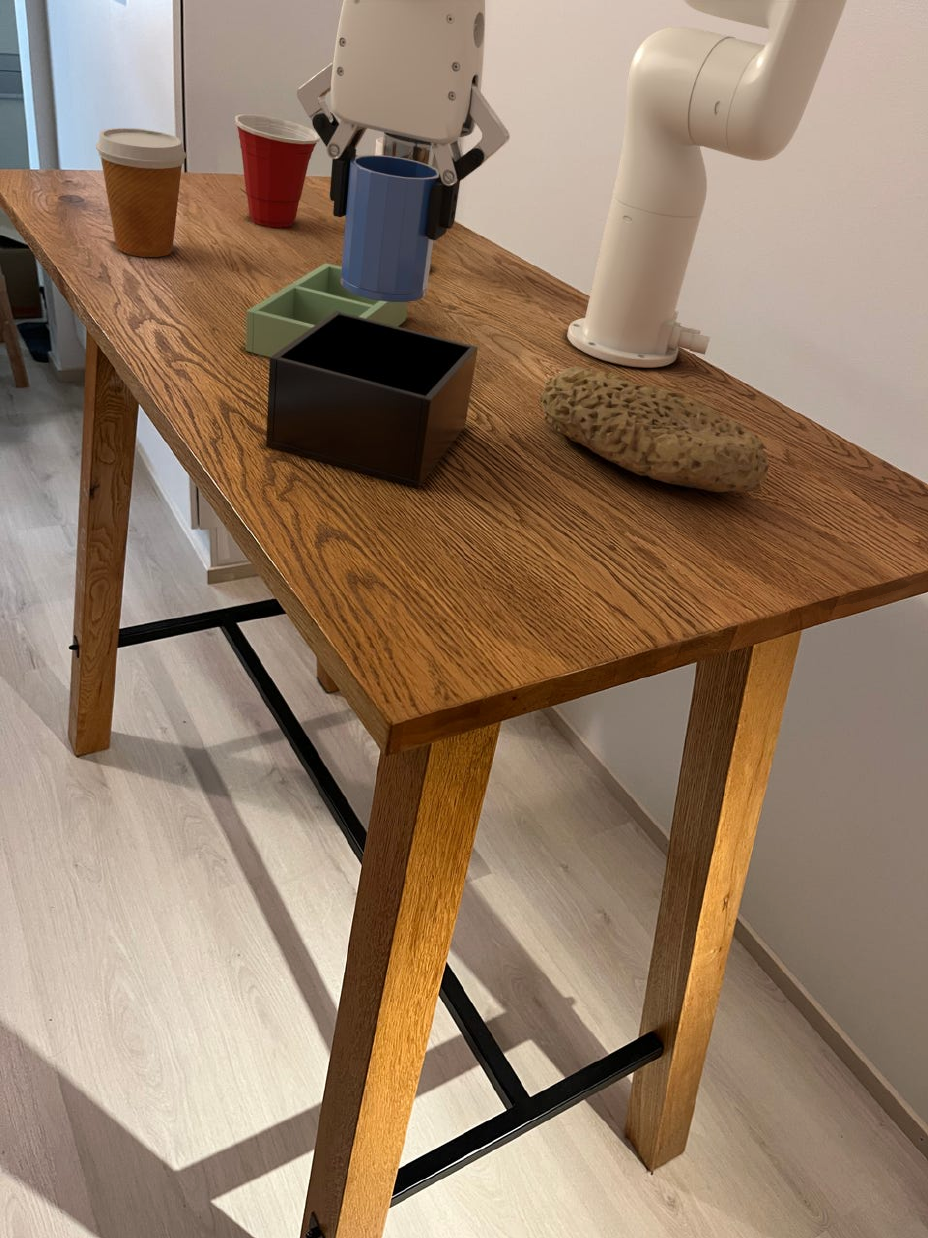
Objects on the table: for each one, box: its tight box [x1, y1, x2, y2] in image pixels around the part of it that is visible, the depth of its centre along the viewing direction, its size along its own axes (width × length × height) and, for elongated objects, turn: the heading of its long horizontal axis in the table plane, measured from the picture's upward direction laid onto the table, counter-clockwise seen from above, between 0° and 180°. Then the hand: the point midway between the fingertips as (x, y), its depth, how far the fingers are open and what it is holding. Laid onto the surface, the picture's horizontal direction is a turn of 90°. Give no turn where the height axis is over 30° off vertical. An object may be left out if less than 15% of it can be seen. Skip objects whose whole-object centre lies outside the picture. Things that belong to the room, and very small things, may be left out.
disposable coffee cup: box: [95, 127, 187, 258], centre depth 115 cm, size 10×10×12 cm
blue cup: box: [340, 154, 440, 303], centre depth 78 cm, size 7×7×9 cm
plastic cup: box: [234, 113, 321, 228], centre depth 131 cm, size 11×11×12 cm
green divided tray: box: [245, 262, 409, 358], centre depth 104 cm, size 10×19×4 cm, turn 163°
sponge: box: [540, 365, 771, 493], centre depth 89 cm, size 13×8×20 cm
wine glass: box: [382, 132, 438, 273], centre depth 124 cm, size 8×8×15 cm
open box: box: [265, 311, 479, 489], centre depth 85 cm, size 13×13×8 cm
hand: (390, 222), depth 78 cm, fingers closed on blue cup, 6 cm apart
